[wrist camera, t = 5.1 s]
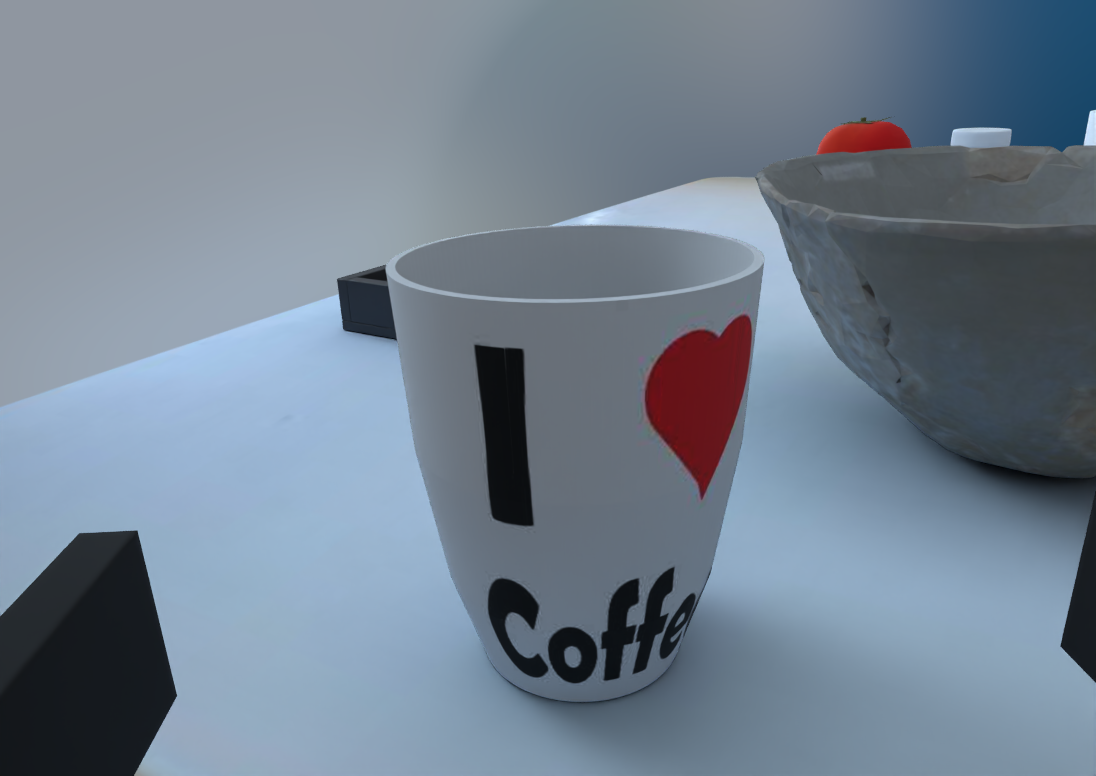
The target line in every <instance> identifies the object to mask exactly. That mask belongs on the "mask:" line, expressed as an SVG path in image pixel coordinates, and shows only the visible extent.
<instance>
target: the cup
mask: <svg viewBox="0 0 1096 776" xmlns="http://www.w3.org/2000/svg"><path fill="white" fill-rule="evenodd" d="M763 266H764V255H763V254H762V252H761V251H760V250H758V249H757V248H755V247H754V246H752V245H750V244H748V243H745V242H743V241H740V240H737V239H733V238H730V237H726V236H721V235H717V234H711V233H706V232H700V231H693V230H685V229H676V228H666V227H652V226H634V225H562V226H543V227H529V228H516V229H507V230H497V231H489V232H481V233H475V234H468V235H463V236H457V237H452V238H447V239H442V240H438V241H434V242H430V243H426V244H423V245H420V246H417V247H414V248H411V249H409V250H406V251H404V252H402V253H400V254H398V255H396V256H395V257H393V258H392V259H391V260H390V261H389V262H388V263H387V265H386V275H387V281H388V287H389V293H390V299H391V305H392V312H393V318H394V324H395V330H396V336H397V342H398V348H399V355H400V361H401V367H402V373H403V379H404V385H405V391H406V398H407V404H408V410H409V416H410V422H411V428H412V434H413V440H414V447H415V451H416V454H417V458H418V461H419V465H420V468H421V472H422V476H423V479H424V483H425V486H426V490H427V493H428V497H429V500H430V504H431V507H432V511H433V515H434V518H435V522H436V525H437V529H438V532H439V536H440V539H441V543H442V546H443V550H444V553H445V557H446V561H447V564H448V568H449V571H450V575H451V578H452V580H453V582H454V584H455V586H456V589H457V591H458V593H459V595H460V597H461V599H462V601H463V604H464V606H465V608H466V610H467V612H468V614H469V616H470V619H471V621H472V623H473V625H474V627H475V629H476V631H477V634H478V636H479V638H480V640H481V642H482V644H483V646H484V649H485V651H486V653H487V655H488V657H489V659H490V661H491V663H492V664H493V666H494V667H495V669H496V670H497V671H498V672H499V673H500V674H501V675H502V676H503V677H504V678H506V679H507V680H508V681H509V682H511V683H512V684H514V685H516V686H517V687H519V688H521V689H523V690H525V691H528V692H530V693H533V694H535V695H538V696H542V697H545V698H550V699H555V700H561V701H570V702H593V701H602V700H608V699H613V698H618V697H621V696H625V695H628V694H630V693H633V692H635V691H638V690H640V689H642V688H644V687H646V686H647V685H649V684H651V683H652V682H654V681H655V680H656V679H658V678H659V677H660V676H661V675H662V674H663V673H664V672H665V671H666V670H667V669H668V668H669V666H670V665H671V663H672V662H673V660H674V658H675V656H676V653H677V651H678V649H679V646H680V644H681V642H682V639H683V637H684V634H685V632H686V630H687V627H688V625H689V623H690V620H691V618H692V616H693V613H694V611H695V609H696V606H697V604H698V601H699V599H700V597H701V594H702V592H703V590H704V587H705V585H706V583H707V580H708V578H709V575H710V572H711V569H712V564H713V560H714V556H715V552H716V548H717V544H718V540H719V535H720V531H721V527H722V523H723V519H724V515H725V511H726V506H727V502H728V498H729V494H730V490H731V486H732V482H733V477H734V473H735V469H736V465H737V461H738V457H739V453H740V448H741V444H742V438H743V430H744V422H745V414H746V406H747V397H748V389H749V381H750V373H751V365H752V356H753V348H754V340H755V332H756V324H757V316H758V307H759V299H760V291H761V283H762V275H763Z"/></svg>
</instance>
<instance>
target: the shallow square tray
mask: <svg viewBox="0 0 1096 776" xmlns="http://www.w3.org/2000/svg"><path fill="white" fill-rule="evenodd" d="M337 282H338V290H339V298H340V306H341V314H342V319H343V321H342V322H343V329H344V330H350V331H355V332H361V333H366V334H372V335H377V336H383V337H389V338H394V339H397V336H396V330H395V324H394V318H393V312H392V305H391V299H390V293H389V287H388V281H387V275H386V265H383V266H380V267H377V268H373V269H370V270H366V271H363V272H359V273H356V274H352V275H349V276H345V277H342V278H338V279H337Z"/></svg>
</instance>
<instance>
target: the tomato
mask: <svg viewBox="0 0 1096 776" xmlns="http://www.w3.org/2000/svg"><path fill="white" fill-rule="evenodd" d="M886 119H887V118H886ZM882 120H884V119H882ZM882 120H877V121H878V122H876V121H866V118H861V121H860V122H859V121H854V122H848V123H846V124H845V123H844V125H841V126H838V127H836V128H834V129H832V130H831V131H830V132H828V133H827V134H826V136H825V137H824V138H823V140H822V141H821V143H820V145H819V149H818V152H817V154H816V155H818V154H825V153H836V152H848V153H859V152H866V151H875V150H885V149H901V148H911V144H910V140H909V138H908V137H907V135H906V134H905V132H904V131H903V130H902V128H900V127H897V126H896V125H894V124H892V123H890V122H881V121H882Z"/></svg>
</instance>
